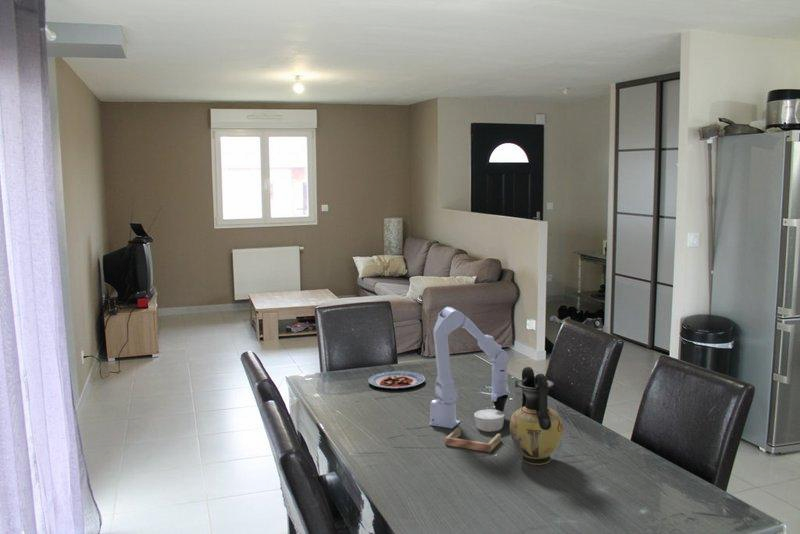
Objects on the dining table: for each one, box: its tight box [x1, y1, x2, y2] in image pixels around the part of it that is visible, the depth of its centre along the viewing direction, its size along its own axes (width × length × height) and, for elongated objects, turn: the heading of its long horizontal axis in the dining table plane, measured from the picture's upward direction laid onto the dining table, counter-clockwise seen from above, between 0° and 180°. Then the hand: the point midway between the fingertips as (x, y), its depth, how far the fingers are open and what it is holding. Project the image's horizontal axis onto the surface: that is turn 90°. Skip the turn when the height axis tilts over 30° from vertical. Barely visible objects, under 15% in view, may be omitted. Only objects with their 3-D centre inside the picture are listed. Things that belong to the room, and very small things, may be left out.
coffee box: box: [514, 379, 522, 412], centre depth 257 cm, size 9×6×16 cm
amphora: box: [509, 366, 564, 466], centre depth 225 cm, size 18×17×30 cm
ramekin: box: [473, 408, 506, 433], centre depth 256 cm, size 11×11×5 cm
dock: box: [444, 427, 502, 453], centre depth 242 cm, size 16×11×2 cm
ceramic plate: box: [367, 370, 426, 390], centre depth 316 cm, size 26×26×3 cm
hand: (499, 413), depth 267 cm, fingers closed
